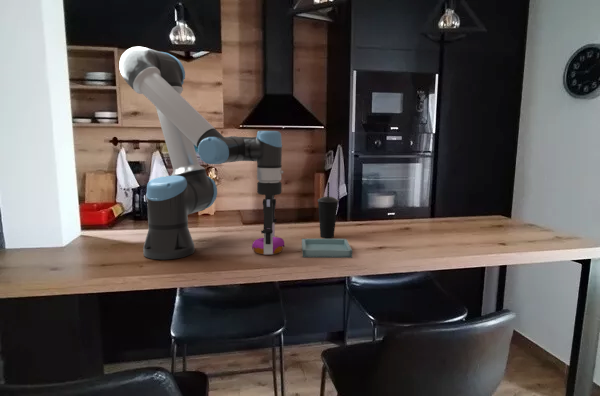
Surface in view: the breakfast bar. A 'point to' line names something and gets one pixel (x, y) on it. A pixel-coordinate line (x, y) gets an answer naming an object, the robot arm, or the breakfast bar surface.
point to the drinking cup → (327, 215)
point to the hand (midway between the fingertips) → (269, 247)
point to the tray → (326, 248)
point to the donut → (277, 245)
